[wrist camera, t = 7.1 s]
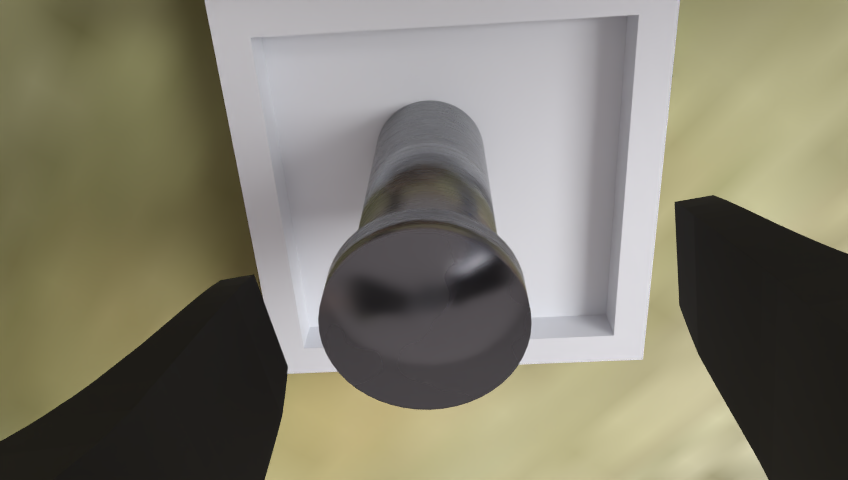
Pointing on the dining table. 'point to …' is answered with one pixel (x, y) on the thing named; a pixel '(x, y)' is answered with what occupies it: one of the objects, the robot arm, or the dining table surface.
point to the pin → (426, 272)
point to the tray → (501, 133)
